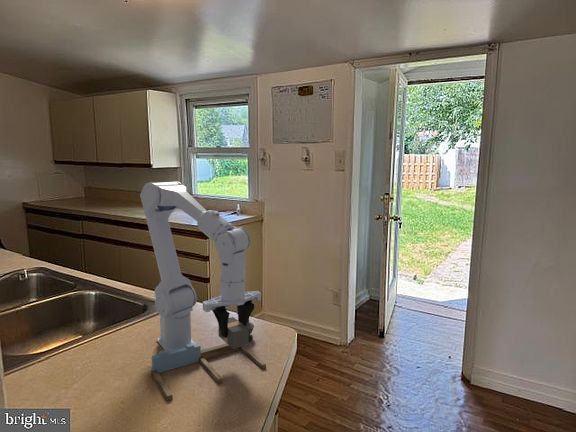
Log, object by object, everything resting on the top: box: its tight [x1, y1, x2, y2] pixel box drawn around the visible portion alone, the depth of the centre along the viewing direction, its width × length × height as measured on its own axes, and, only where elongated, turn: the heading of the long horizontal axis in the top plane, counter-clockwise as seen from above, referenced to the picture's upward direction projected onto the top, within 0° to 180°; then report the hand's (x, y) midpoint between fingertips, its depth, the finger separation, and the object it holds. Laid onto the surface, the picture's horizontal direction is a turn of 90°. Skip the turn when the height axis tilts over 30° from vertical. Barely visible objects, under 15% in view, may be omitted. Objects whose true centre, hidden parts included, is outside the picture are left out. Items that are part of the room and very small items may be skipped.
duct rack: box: [151, 342, 267, 402], centre depth 93 cm, size 13×24×5 cm, turn 125°
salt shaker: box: [236, 311, 255, 342], centre depth 110 cm, size 6×6×12 cm
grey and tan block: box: [217, 316, 250, 349], centre depth 94 cm, size 8×4×4 cm, turn 35°
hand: (233, 333), depth 94 cm, fingers closed on grey and tan block, 4 cm apart
